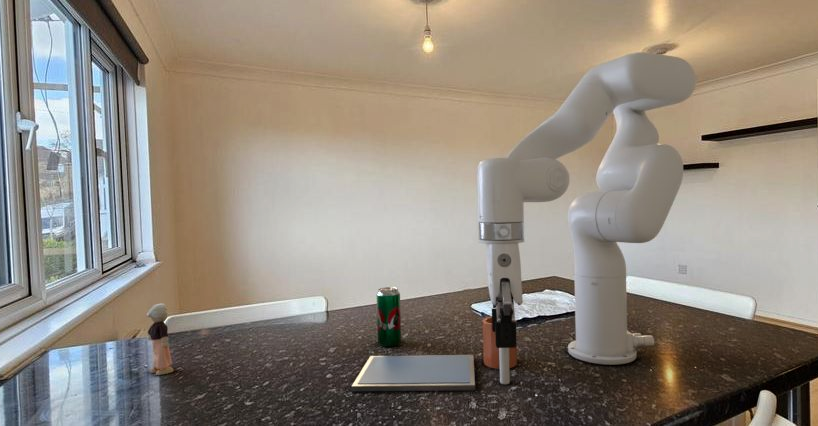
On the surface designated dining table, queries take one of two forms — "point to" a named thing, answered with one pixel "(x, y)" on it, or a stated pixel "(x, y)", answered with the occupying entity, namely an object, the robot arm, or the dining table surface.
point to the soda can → (388, 317)
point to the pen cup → (490, 347)
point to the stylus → (504, 365)
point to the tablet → (417, 373)
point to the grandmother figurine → (159, 340)
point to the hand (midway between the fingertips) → (503, 338)
